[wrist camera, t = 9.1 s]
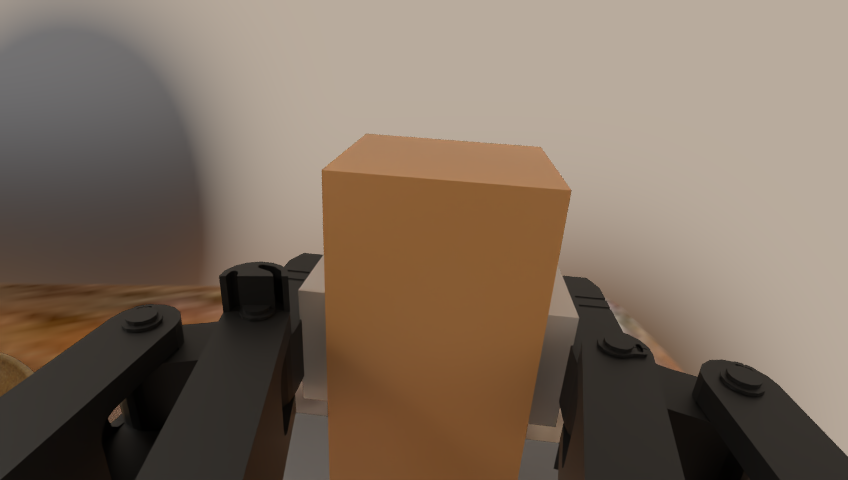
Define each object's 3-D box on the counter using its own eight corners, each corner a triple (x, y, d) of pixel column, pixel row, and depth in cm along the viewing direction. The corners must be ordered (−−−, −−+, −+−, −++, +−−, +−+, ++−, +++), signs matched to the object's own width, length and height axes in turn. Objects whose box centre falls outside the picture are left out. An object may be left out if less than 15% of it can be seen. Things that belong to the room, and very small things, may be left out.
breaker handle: (492, 612, 11) (571, 190, 7) (332, 589, 12) (321, 169, 8) (488, 487, 15) (540, 146, 11) (362, 472, 15) (366, 133, 11)
